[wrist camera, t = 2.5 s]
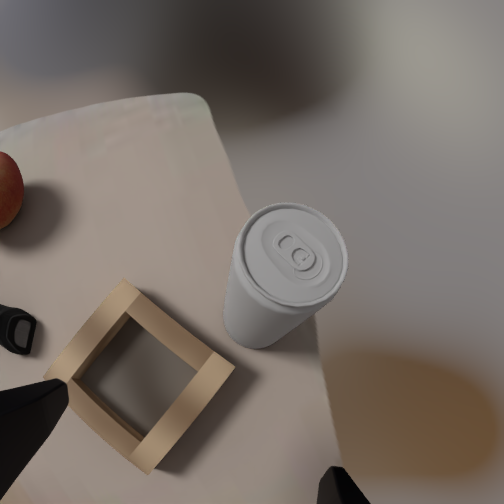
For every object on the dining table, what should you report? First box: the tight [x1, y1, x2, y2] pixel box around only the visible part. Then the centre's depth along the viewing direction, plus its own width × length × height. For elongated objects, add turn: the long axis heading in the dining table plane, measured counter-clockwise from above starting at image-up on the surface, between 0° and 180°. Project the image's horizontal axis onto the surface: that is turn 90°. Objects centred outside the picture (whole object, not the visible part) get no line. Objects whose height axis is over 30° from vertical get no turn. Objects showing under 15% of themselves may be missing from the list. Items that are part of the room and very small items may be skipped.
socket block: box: [43, 278, 235, 475], centre depth 19 cm, size 10×10×2 cm
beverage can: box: [223, 203, 348, 349], centre depth 17 cm, size 5×5×12 cm
